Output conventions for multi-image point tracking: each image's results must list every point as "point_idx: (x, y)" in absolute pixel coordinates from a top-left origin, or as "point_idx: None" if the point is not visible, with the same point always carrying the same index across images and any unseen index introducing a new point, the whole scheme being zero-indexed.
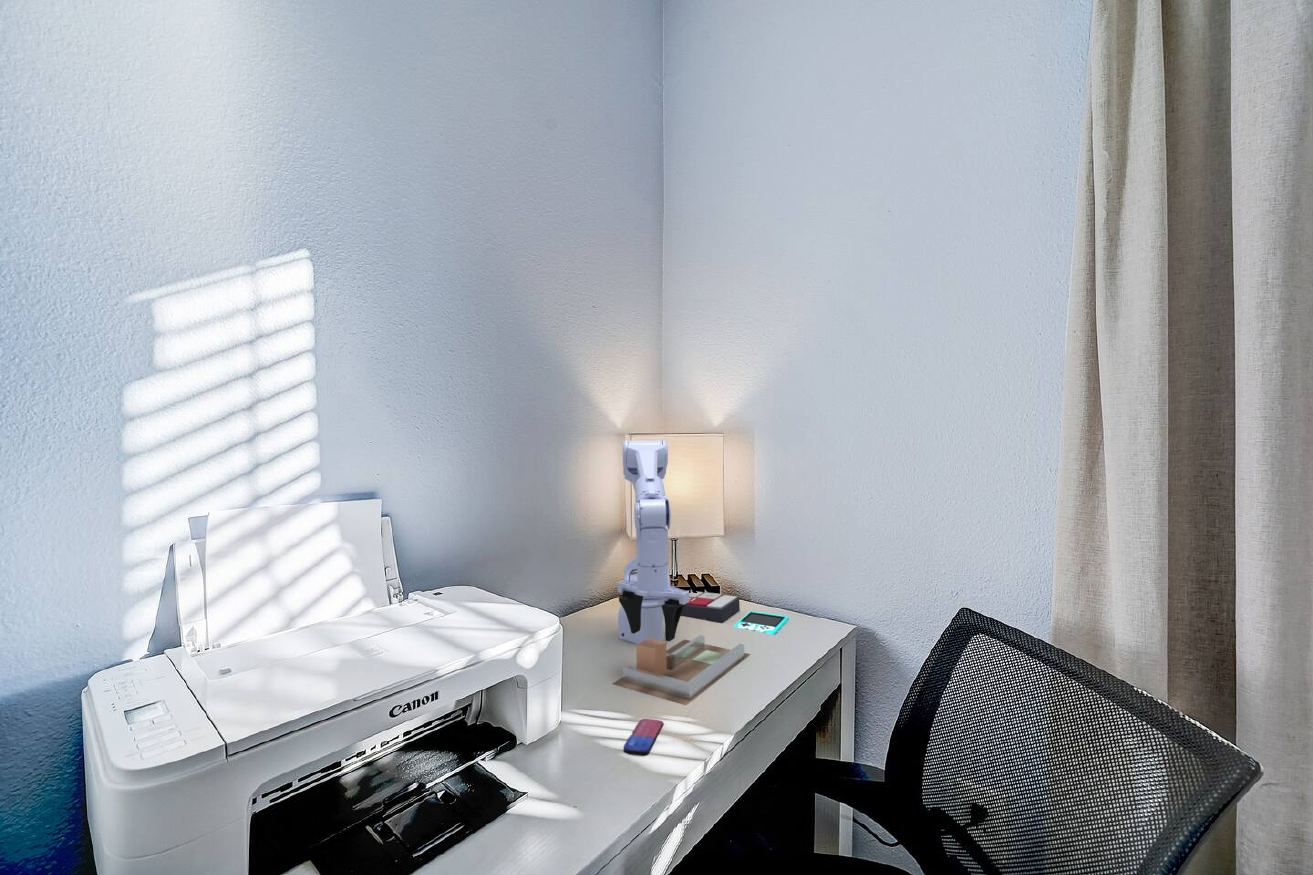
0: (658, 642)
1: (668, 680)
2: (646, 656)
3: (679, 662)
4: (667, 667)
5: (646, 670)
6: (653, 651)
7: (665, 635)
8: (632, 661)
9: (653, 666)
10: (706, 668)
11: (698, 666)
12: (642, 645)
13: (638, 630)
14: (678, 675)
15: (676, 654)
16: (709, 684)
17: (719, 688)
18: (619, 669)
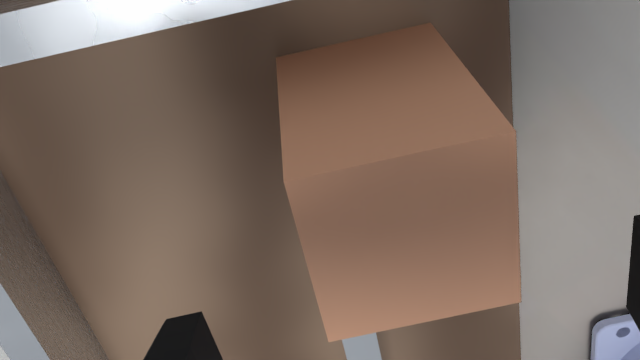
0: (375, 296)
1: (7, 10)
2: (371, 113)
3: None
4: None
5: (353, 63)
6: (297, 162)
7: (184, 351)
8: (627, 186)
9: (290, 97)
10: (22, 323)
11: (244, 351)
12: (447, 155)
13: (633, 291)
14: (231, 214)
15: None
16: None
17: None
18: (636, 57)
